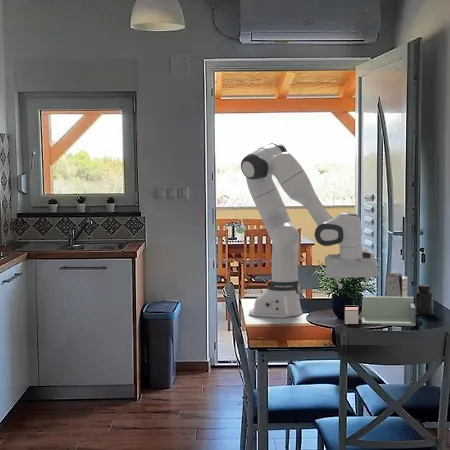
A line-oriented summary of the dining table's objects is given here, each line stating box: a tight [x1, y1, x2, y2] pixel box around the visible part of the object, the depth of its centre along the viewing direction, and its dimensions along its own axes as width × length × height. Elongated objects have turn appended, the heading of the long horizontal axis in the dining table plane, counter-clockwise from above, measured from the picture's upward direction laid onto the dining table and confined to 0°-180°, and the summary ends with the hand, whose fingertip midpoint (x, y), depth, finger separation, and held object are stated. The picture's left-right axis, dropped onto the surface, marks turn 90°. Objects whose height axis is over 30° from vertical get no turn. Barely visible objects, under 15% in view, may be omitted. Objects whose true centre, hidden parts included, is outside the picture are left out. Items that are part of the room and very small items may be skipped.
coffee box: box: [385, 272, 403, 297], centre depth 284 cm, size 9×6×16 cm
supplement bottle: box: [415, 284, 434, 317], centre depth 279 cm, size 7×7×12 cm
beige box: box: [344, 306, 359, 326], centre depth 268 cm, size 5×8×6 cm, turn 168°
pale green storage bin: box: [361, 295, 417, 327], centre depth 267 cm, size 20×12×9 cm, turn 78°
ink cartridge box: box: [390, 269, 409, 297], centre depth 303 cm, size 9×5×15 cm, turn 144°
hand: (352, 288), depth 267 cm, fingers open, 8 cm apart
